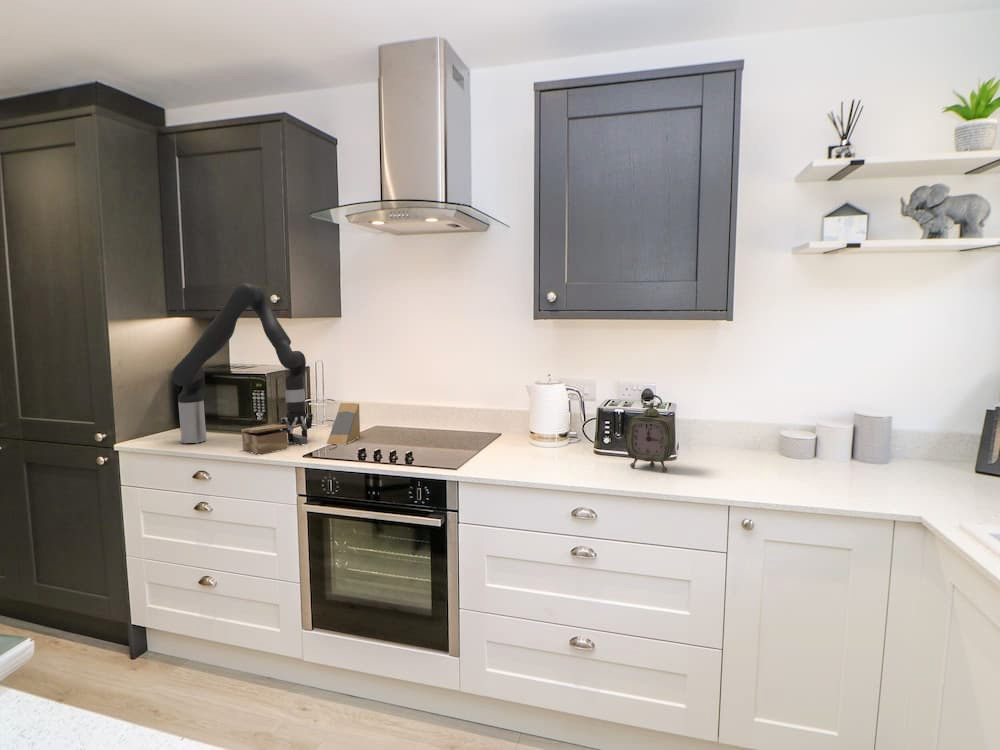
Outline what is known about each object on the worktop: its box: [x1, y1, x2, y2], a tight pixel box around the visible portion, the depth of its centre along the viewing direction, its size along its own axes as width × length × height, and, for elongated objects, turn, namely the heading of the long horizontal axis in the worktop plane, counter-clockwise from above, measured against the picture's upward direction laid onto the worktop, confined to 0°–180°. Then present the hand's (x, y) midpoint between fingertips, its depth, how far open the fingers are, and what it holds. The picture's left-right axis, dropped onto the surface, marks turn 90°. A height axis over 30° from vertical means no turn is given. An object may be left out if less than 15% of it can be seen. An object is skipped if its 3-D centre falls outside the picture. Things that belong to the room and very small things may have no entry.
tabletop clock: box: [625, 394, 676, 473], centre depth 191 cm, size 14×9×25 cm, turn 59°
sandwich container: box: [326, 402, 361, 444], centre depth 237 cm, size 9×15×15 cm, turn 170°
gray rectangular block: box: [292, 433, 308, 446], centre depth 235 cm, size 10×3×3 cm, turn 47°
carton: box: [241, 429, 289, 455], centre depth 224 cm, size 12×12×7 cm
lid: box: [240, 423, 288, 433], centre depth 223 cm, size 12×12×1 cm
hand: (297, 440), depth 235 cm, fingers open, 5 cm apart
